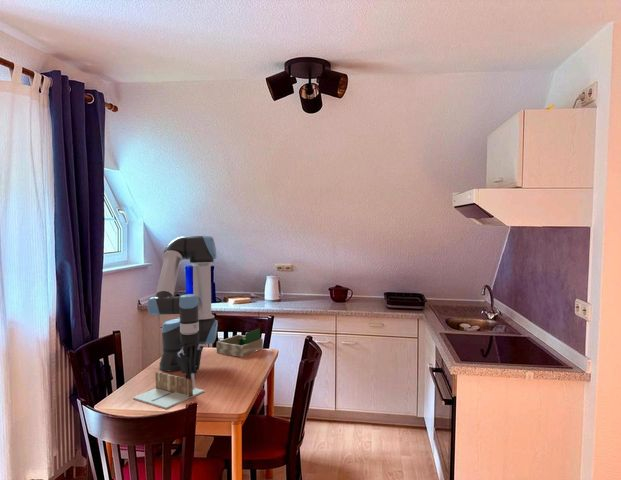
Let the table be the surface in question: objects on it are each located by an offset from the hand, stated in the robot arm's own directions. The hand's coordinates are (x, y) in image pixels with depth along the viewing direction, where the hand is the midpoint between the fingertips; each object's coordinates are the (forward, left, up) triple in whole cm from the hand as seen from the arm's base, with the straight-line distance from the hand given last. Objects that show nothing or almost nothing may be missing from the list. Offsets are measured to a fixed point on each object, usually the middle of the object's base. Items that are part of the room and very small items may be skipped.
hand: (191, 388), depth 182 cm
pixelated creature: (-22, +60, -3) cm, 64 cm away
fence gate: (-1, -3, -2) cm, 4 cm away
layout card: (-8, -5, -3) cm, 9 cm away
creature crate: (-24, +58, -3) cm, 63 cm away
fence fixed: (-12, -3, -3) cm, 13 cm away
